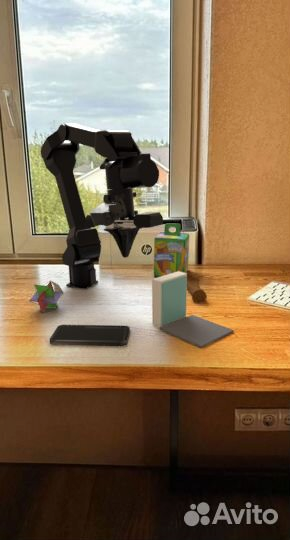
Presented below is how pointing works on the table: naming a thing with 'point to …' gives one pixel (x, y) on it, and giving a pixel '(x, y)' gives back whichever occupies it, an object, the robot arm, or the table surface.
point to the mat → (196, 330)
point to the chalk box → (171, 251)
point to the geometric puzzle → (47, 295)
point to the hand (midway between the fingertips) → (125, 257)
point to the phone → (90, 335)
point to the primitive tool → (195, 290)
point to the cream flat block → (169, 298)
